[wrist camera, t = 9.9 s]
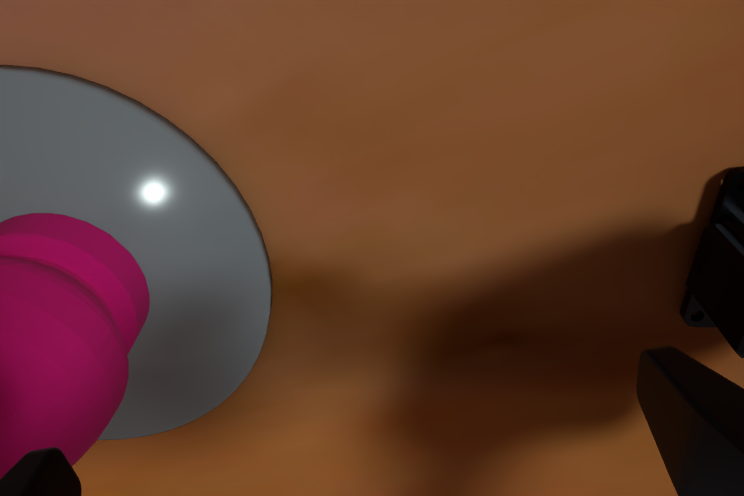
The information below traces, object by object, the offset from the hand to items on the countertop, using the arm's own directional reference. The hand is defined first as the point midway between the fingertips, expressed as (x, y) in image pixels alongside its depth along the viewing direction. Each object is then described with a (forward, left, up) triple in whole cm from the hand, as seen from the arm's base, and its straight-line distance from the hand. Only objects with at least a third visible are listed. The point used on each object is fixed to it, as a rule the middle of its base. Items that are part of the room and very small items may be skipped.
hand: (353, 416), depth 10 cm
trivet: (+12, +6, -13) cm, 19 cm away
